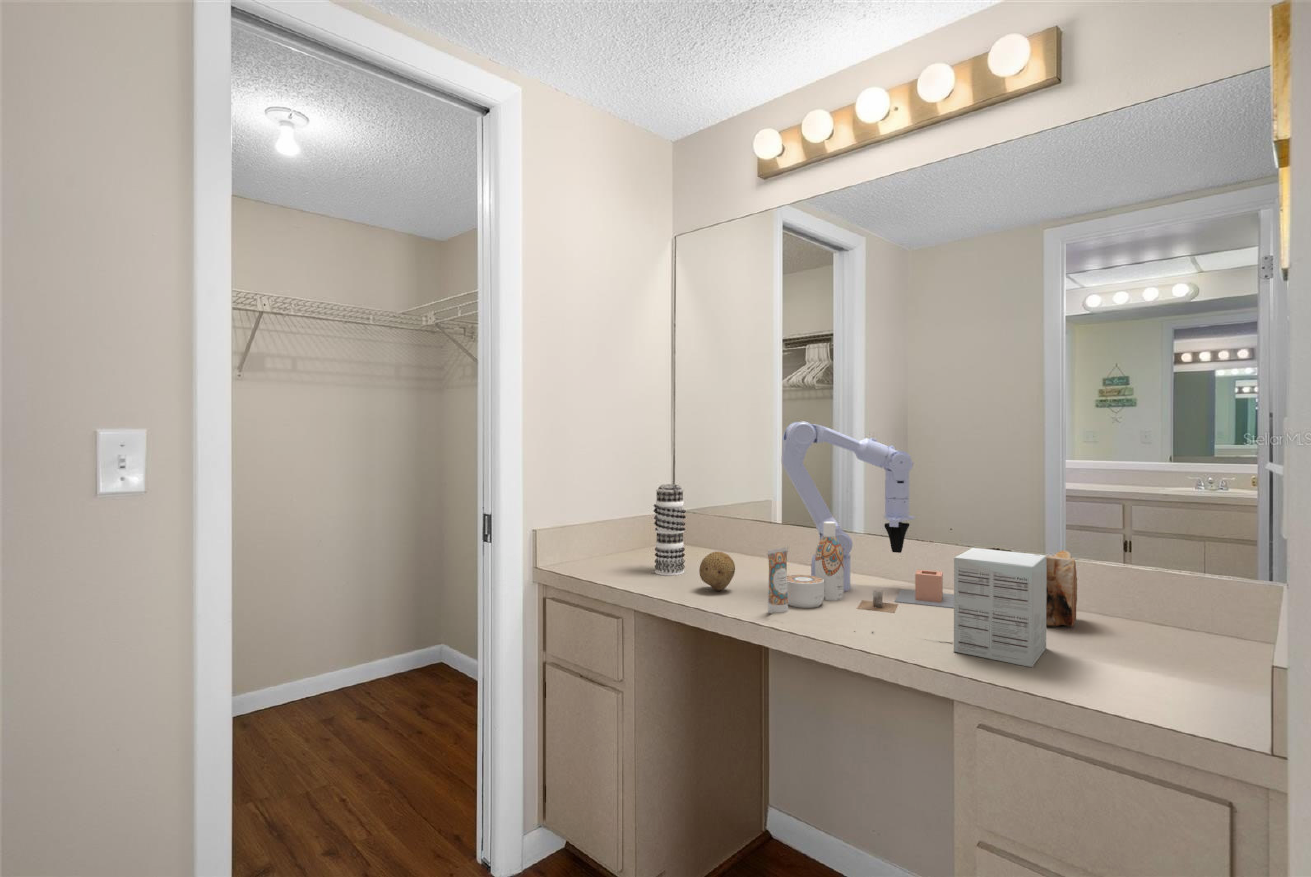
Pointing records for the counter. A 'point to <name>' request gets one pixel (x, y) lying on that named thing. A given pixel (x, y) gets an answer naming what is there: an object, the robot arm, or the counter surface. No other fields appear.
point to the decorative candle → (669, 530)
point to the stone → (1061, 590)
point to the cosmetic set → (807, 576)
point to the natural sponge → (717, 570)
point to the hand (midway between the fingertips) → (896, 552)
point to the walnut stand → (877, 604)
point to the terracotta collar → (929, 585)
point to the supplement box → (1000, 605)
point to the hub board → (909, 598)
